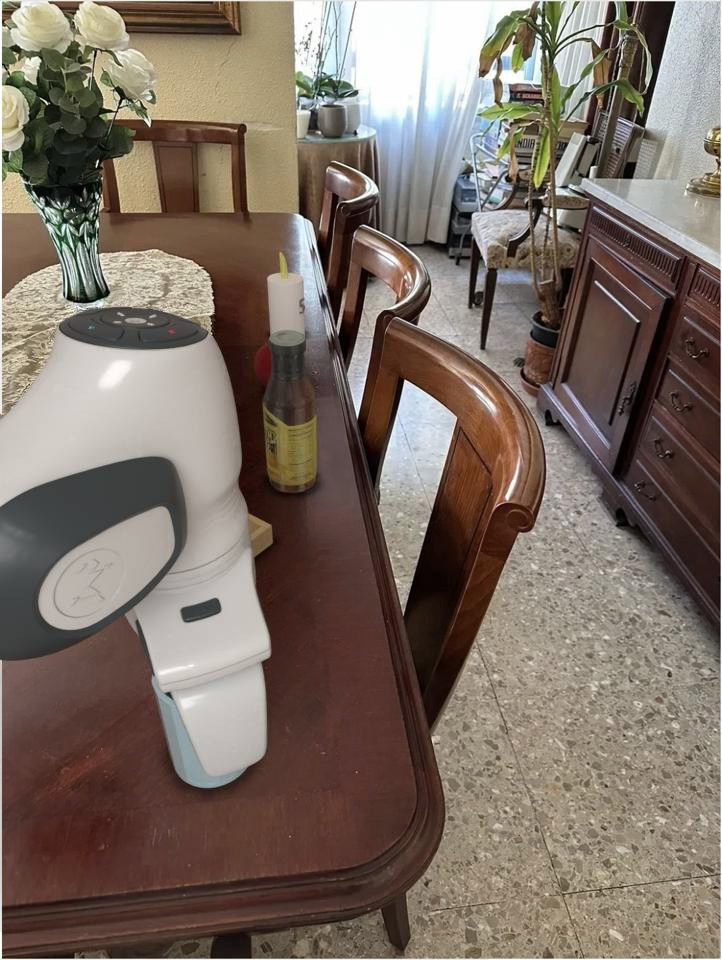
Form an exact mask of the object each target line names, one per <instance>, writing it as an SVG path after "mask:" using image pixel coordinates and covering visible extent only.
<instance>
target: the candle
mask: <svg viewBox="0 0 722 960" xmlns="http://www.w3.org/2000/svg"><path fill="white" fill-rule="evenodd" d="M278 255H279V269H280V270H279V271H280V272H275V273H272V274H270V275H268V276H267V278H266V280H267V297H268V299H267V301H268V315H269V316H268V318H269V332H270V333H269V334H270V336H271V335H272V334H273V333H275V332H278V331H283V330H293V331H297V332H300V333H302V334H304V336H305V337H306V325H305V310H306V305H305V299H306V298H305V289H304V288H305V287H304V286H305V285H304V284H305V283H304V277H303V275H301V274H299V273H296V272H289V270H288V269H289V268H288V264H287V260H286V257H285V255H284V254H283V252H282V251H279V254H278Z"/></svg>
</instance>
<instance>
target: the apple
mask: <svg viewBox="0 0 722 960" xmlns="http://www.w3.org/2000/svg"><path fill="white" fill-rule="evenodd" d="M271 368H272V363H271V352H270V350H269V341H268V342H266V343H265V344H263V345H262V346H261V347H260V348H258V350H257V352H256V354H255V357H254V361H253V369H254V370H253V371H254V374H255V377H256V379H257V381H258V382H259V384H260V385H261V386H263V387H264V388H265V389H266V387H267V384H268V381H269V378H270V374H271Z"/></svg>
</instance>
